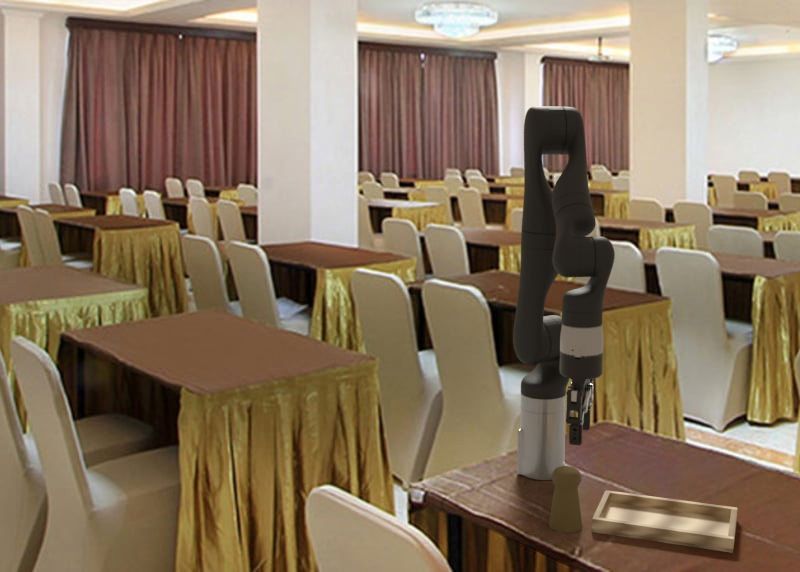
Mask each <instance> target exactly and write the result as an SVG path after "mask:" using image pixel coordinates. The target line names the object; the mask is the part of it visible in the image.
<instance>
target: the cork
mask: <svg viewBox="0 0 800 572" xmlns="http://www.w3.org/2000/svg"><path fill="white" fill-rule="evenodd" d="M581 475H582V474H581V472H580V471H579V469H577V468H576V467H573V466H570V465H565V466H561V467H558V468H556V469H555V470H554V471H553V473H552V484H553V485H554V487H553V488H554V489H553V493H552V501H551V502H552V503H551V509H550V515H549V521H548V526H549V528H550V529H551V530H553V531H555V532H558V533H565V534H569V533H576V532H577V533H578V532H579V531H580V530H582V529H583V523H582V522H583V521H582V514H581V504H580V495H579V486H580V484H581V481H582V476H581Z"/></svg>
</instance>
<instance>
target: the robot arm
mask: <svg viewBox="0 0 800 572" xmlns="http://www.w3.org/2000/svg"><path fill="white" fill-rule="evenodd" d="M585 131H586V130H585V124H584V119H583V116H582V113H581V111H580V110H579V109H578V108H577V107H574V106H573V107H571V106H559V105H558V106H554V105H553V106H550V105H548V106H547V105H546V106H545V105H544V106H540V105H537V106H536V105H535V106H531V107H529V108H528V109H527V111H526V113H525V116H524V124H523V163H524V165H523V168H524V170H523V171H524V173H523V175H524V176H523V177H524V181H523V182H524V183H523V184H524V185H523V186H524V187H523V189H524V190H523V204H522V205H523V206H522V216H521V217H522V219H521V232H520V233H521V235H520V237H521V238H520V264H519V265H520V269H519V270H520V271H519V280H518V281H519V282H518V284H519V285H518V294H517V299H516V300H517V301H516V308H515V309H516V310H515V315H514V323H513V331H512V343H513V349H514V352H515V355H516V358H517V359H518V360H519V361H520V362H521V363H522V364H525V365H535V364H537V365H536V366H535V367H534V368H533V369H532V371H531V372H529V373H528V374H526V375H525V376H524V377H523V378H522V379H521V382H520V418H519V421H520V423H519V424H520V426H519V428H518V430H517V440H516V441H517V444H516V445H517V448H516V449H517V451H516V452H517V453H516V458H517V459H516V461H517V462H516V474H517V475H522V476H523V477H526V478H528V479H531V480H538V481H550V480H552V473H553V471H554V470H555V469H556V468H558V467H561V466H566V465H565V454H566V453H565V452H566V451H565V449H566V447H565V445H566V424H568V426H569V427H568V430H569V431H568V432H569V434H568V443H569V445H572V446H581V445H582V444H583V431H589V430H590V428H591V410H592V408H593V404H594V400H595V398H594V389H595V388H594V380H596V379H598V378H600V377H601V376H602V375H603V373H604V372H603V369H604V364H603V363H604V332H603V331H604V330H603V329H604V328H603V311H604V310H603V309H604V308H603V307H604V297H605V293H606V290H607V286H608V282H609V279H610V275H611V272H612V269H613V267H614V263H615V258H616V257H615V249H614V248H615V247H614V245H613V244H612V241H610V240H609V238H607V237H605V236H594V235H593V236H589V235H590V234H591V233H592V232H594V230H595V228H596V223H597V222H596V215H595V211H594V207H593V201H592V199H591V194H590V190H589V189H590V188H589V180H588V179H589V178H588V161H587V159H588V158H587V145H586V132H585ZM543 155H553V156H555V155H557V156H559V155H562V156H563V155H567V156H568V161H567V164H566V166H565V167H564V169H563V171H562V172H561V174H560V175H559V177H558V179H557V181H556V182H555V183H554V187H553V189H552V187H550V184H549V182H548V179H547V178H546V175H545V170H544V165H543ZM558 275H560V276H561V277H564V278H589V279H588V281H587V282H586V283H585V285H583V286H581V287H578V288H574V289H571V290H568V291H565V292H564V294H563V296H562V299H561V316H560V315H558V314H554V315H550V314H549V315H544V314H545V306H546V301H547V297H548V295H549V292H550V290H551V287H552V285H553V283H554V282H555V280H556V279H557V277H558ZM570 380H571V382H570ZM569 382H570V385H569ZM568 385H569V386H568ZM574 413H577V416H573V415H574Z"/></svg>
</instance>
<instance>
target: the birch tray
mask: <svg viewBox="0 0 800 572" xmlns="http://www.w3.org/2000/svg"><path fill="white" fill-rule="evenodd" d="M591 520H592V521H591V532H592V533H597V534H604V535H609V536H611V535H612V536H618V537H624V538H625V537H626V538H630V539H638V540H642V541H643V540H644V541H649V542H650V541H652V542H658V543H662V544H663V543H665V544H670V545H671V544H673V545H676V546H677V545H679V546H683V547H691V548H697V549H698V548H699V549H704V550H705V549H706V550H709V551H711V550H712V551H719V552H723V553H724V552H725V553H731V554H734V547H735V538H736V530H737V521H738V507H737V506H736V507H735V506H728V505H719V504H713V503H704V502H697V501H692V500H691V501H690V500H683V499H675V498H674V499H673V498H667V497H660V496H652V495H645V494H644V495H643V494H638V493H637V494H636V493H630V492H621V491H615V490H614V491H613V490H607V489H606V490H605V491H604V493H603V495H602V497H601V500H600V501H599V503H598V506H597V508H596V509H595V511H594V514H593V516H592V519H591Z"/></svg>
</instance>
